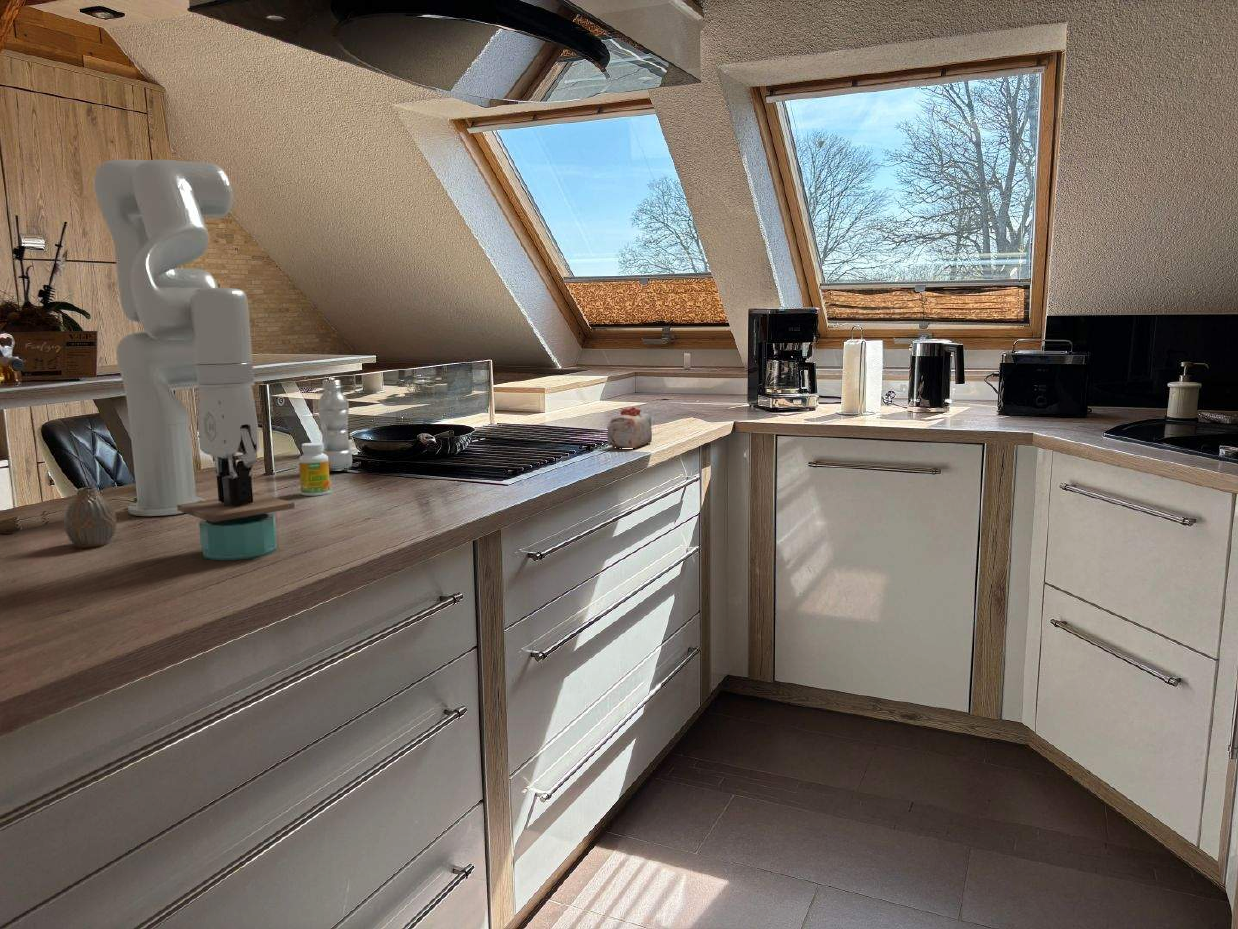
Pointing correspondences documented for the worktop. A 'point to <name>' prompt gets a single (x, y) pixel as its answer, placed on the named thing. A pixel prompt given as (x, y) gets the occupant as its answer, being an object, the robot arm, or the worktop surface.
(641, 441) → the food item
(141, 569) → the worktop surface
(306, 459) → the supplement bottle
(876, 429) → the worktop surface
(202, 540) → the bowl
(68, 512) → the vase
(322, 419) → the plastic bottle
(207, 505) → the lid
